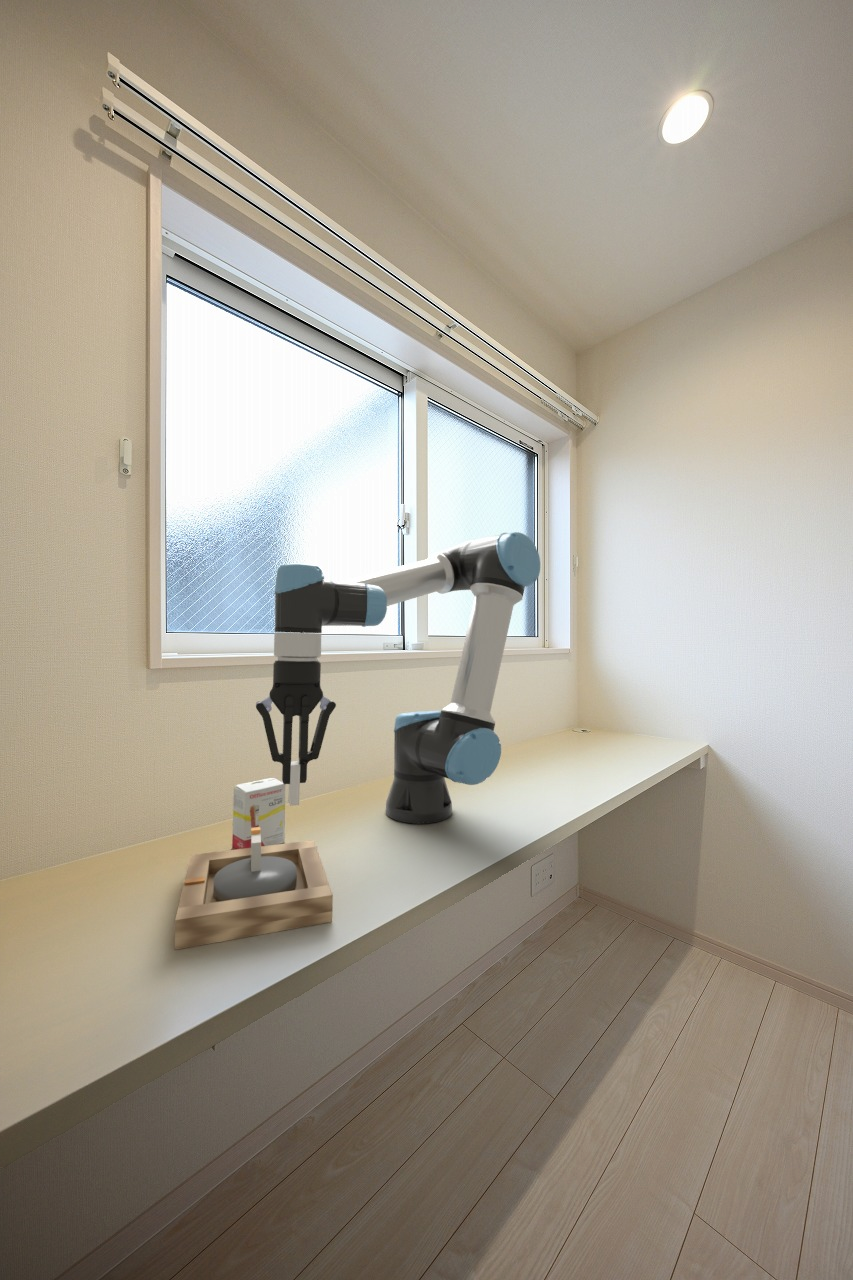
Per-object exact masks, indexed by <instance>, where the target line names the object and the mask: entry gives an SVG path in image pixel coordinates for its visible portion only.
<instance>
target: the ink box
mask: <svg viewBox="0 0 853 1280" xmlns="http://www.w3.org/2000/svg"><path fill="white" fill-rule="evenodd" d="M232 802H233V804H232V805H233V806H232V807H233V808H232V811H233V812H232V838H231V839H232V840H231V841H232V842H231V843H232V844H231V849H232V850H236V849H245V848H251V828H256V827H260V834H261V846H269V845H277V844H285V838H286V836H285V835H286V784H284V783H283V781H282V780H281V781H280V780H279V779H277V778H275V777H270V778H268V777H267V778H263V779H259V780H254V781H249V782H243V783H238V784H236V785H235V786H233V801H232Z"/></svg>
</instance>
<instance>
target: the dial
mask: <svg viewBox="0 0 853 1280" xmlns="http://www.w3.org/2000/svg"><path fill="white" fill-rule="evenodd" d="M296 883H297V868H296V865H295V864H294V863H293V862H291V861H290V860H287V859H285V858H281V857H273V856H261V834H260V827H256V828H251V858H247V859H243V860H239V861H236V862H234V863H231V864H229V865H227V866H225V867H223V868H222V869H221V870H219V871H218V872H217V873H216V875H215V876H214V889H213V894H214V898H215V899H216V900H217V901H218V902H221V901H228V900H234V899H241V898H247V897H254V896H260V895H267V894H273V893H280V892H286V891H293V890H294V888H295V887H296Z"/></svg>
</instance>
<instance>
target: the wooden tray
mask: <svg viewBox="0 0 853 1280" xmlns="http://www.w3.org/2000/svg"><path fill="white" fill-rule="evenodd" d="M261 856H273V857H281V858H285V859H287V860H290V861H291V862H293V863H294V864H295V865H296V868H297V883H296V887H295V888H294V890H293V891H286V892H280V893H273V894H267V895H260V896H254V897H247V898H241V899H234V900H228V901H221V902H218V901H217V900H216V899H215V898H214V894H213V889H214V876H215V875H216V873H217V872H218V871H219V870H221V869H222V868H223V867H225V866H227V865H229V864H231V863H234V862H236V861H239V860H243V859H247V858H251V848H245V849H236V850H235V849H231V850H230V849H228V850H221V851H214V852H212V851H211V852H204V853H196V854H190V857H189V861H188V864H187V868H186V873H185V877H184V881H183V882H184V883H183V886H182V889H181V890H182V891H181V894H180V898H179V902H178V903H179V904H178V907H177V911H176V915H175V920H174V951H176V950H183V949H186V948H188V949H189V948H193V947H199V946H204V945H209V944H214V943H215V944H216V943H220V942H221V943H222V942H227V941H232V940H237V939H244V938H248V937H254V936H259V935H260V936H261V935H265V934H271V933H272V934H273V933H276V932H282V931H288V930H289V931H290V930H293V929H295V930H296V929H298V928H306V927H310V926H317V925H321V924H328V923H332V922H333V913H334V912H333V910H334V909H333V906H334V905H333V901H334V898H333V897H334V896H333V892H332V888H331V885H330V882H329V880H328V879H329V878H328V877H327V874H326V872H325V871H326V870H325V868H324V865H323V862H322V860H321V859H322V858H321V856H320V853H319V851H318V848H317V844H316V842H315V839H312V840H305V841H302V840H301V841H295V842H287V843H281V844H277V845H269V846H261Z"/></svg>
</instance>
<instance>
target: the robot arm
mask: <svg viewBox="0 0 853 1280" xmlns="http://www.w3.org/2000/svg"><path fill="white" fill-rule="evenodd" d="M540 573H541V557H540V554H539V551H538V550H537V547H536V544H535V543H534V542H533V540H532V539H531V538H530V537H529V536H527V535H526V534H524V533H522V532H517V531H513V532H503V533H500V534H497V535H493V536H492V535H491V536H488V537H482V538H478V539H471V540H468V541H465V542H462V543H460V544H457V545H455V546H453V547H450V548H448V549H444V550H441V551H438V552H434V553H431V554H430V555H429V556H428V557H427V559H424V560H419V561H416V562H413V563H408V564H404V565H400V566H397V567H393V568H389V569H385V570H381V571H378V572H373V573H370V574H365V575H362V576H361V575H360V576H358V577H354V578H349V579H346V580H342V581H333V580H329V579H325V576H324V570H323V568H322V567H321V566H318V565H314V564H310V563H309V564H308V563H285V564H282V565H280V566H279V567H278V568H277V571H276V578H275V586H274V587H275V588H274V596H275V597H274V639H273V643H274V644H273V656H274V657H275V658H277V660H274V662H273V671H272V673H273V675H272V676H273V677H272V688H271V689H270V691H269V696H267V697H264V699H262V700H261V701H260V700H259V701H256V703H255V708H256V710H257V712H258V713H259V715H260V716H261V717H262V720H263V726H264V730H265V733H266V734H265V735H266V740H267V743H268V748H269V751H270V755H271V760H272V761H273V762H274V763H275V762H277V763H280V764H282V769H281V773H282V774H281V782H283V783H284V784H285V785H288V797H287V798H288V804H289V806H290V807H291V806H292V807H293V806H300V796H301V795H300V793H301V791H300V790H301V789H300V788H301V784H305V783H306V782H307V780H308V779H307V778H308V763H310V761H313V760H318V758H319V757H320V752H321V749H322V745H323V741H324V739H325V734H326V730H327V727H328V722H329V718H330V716H331V714H332V713H333V712H334V710H335V708H336V707H337V703H336V702H334V700H331V699H329V698H328V697H326V696H325V695H324V692H323V690H322V687H321V670H322V669H321V667H322V666H321V665H322V663H321V661H320V660H318V659H319V658H321V657H322V633H323V632H322V631H323V630H322V629H323V627H326V626H327V627H329V626H333V627H334V626H336V627H337V626H339V627H340V626H343V627H344V626H345V627H346V626H350V627H353V626H355V627H356V626H357V627H363V628H365V627H375V626H378V625H380V624H382V622H383V621H384V620H385V617H386V615H387V611H388V607H389V606H392V605H396V604H399V603H403V602H406V601H409V600H412V599H416V598H420V597H422V596H425V595H429V594H432V593H433V594H434V593H435V592H437V593H439V594H447V593H450V592H451V593H452V592H455V591H456V592H457V591H471V593H472V595H473V596H474V600H473V604H472V609H471V613H470V617H469V621H468V626H467V630H466V634H465V638H464V643H463V646H462V651H461V656H460V660H459V665H458V670H457V673H456V678H455V681H454V685H453V691H452V695H451V698H450V703H449V704H448V705H446V706H445V707H443V708H441V709H440V710H426V711H425V710H423V711H422V710H421V711H409V712H402V713H399V714H398V715H397V716H396V717H395V720H394V729H393V733H394V742H393V743H394V747H393V748H394V749H393V750H394V753H393V754H394V758H393V759H394V760H393V771H394V772H393V781H392V784H391V785H390V786H391V787H390V790H389V792H388V795H387V798H386V800H385V801H386V803H385V813H386V815H387V817H389V818H391V819H392V820H395V821H397V822H400V823H409V824H419V825H420V824H432V823H439V822H442V821H444V820H446V819H448V818H450V817H451V816H452V814H453V804H452V803H453V802H452V799H451V795H450V792H449V789H448V786H447V782H446V779H448V780H450V781H452V782H454V783H457V784H458V783H459V784H463V785H468V786H474V785H479V784H482V783H484V782H485V781H486V780H487V779H488V778H490V777H491V776H492V775H493V774H494V773H495V771H496V769H497V767H498V765H499V762H500V760H501V757H502V756H501V755H502V745H501V743H500V742H501V741H500V737H499V736H498V735H497V733H495V727H496V721H495V719H494V718H493V716H492V713H491V712H492V711H491V710H492V705H493V701H494V698H495V697H494V696H495V691H496V688H497V683H498V678H499V674H500V670H501V669H500V668H501V663H502V661H503V660H502V659H503V656H504V650H505V646H506V642H507V638H508V633H509V628H510V623H511V619H512V614H513V610H514V606H515V605H516V604H518V603H520V602H521V601H522V600H523V597H524V594H525V588H526V587H529V586H532V585H533V584H534V582H537V580H538V579H539V576H540ZM272 703H273V704H274V705H275V708H277V709H278V711H279V712H280V714H281V715H282V716H283V717H282V718H283V723H282V724H283V726H282V728H283V730H282V732H283V733H282V753H281V752H279V749H278V747H279V746H278V744H277V740H276V734H275V732H274V726H273V721H272V717H271V715H270V712H271V711H272V709H273V708H272ZM318 704H319V708H320V713H319V716H318V720H317V723H316V728H315V732H314V733H313V734H314V735H313V738H312V741H311V745H310V749H309V722H310V715H311V714H312V712H314V709H315V708H316V707H317V706H318ZM296 716H298V719H299V720H298V723H299V725H298V760H295V761H292V747H293V745H292V744H293V742H292V741H293V721H294V720H293V719H294V717H296Z"/></svg>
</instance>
